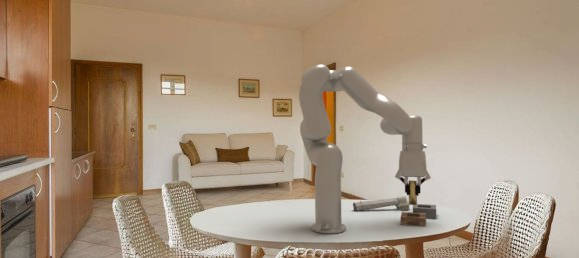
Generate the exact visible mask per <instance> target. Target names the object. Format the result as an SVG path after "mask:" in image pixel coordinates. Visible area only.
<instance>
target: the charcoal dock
mask: <svg viewBox="0 0 579 258" xmlns="http://www.w3.org/2000/svg"><path fill="white" fill-rule="evenodd" d="M436 206H437V205H436V204H428V203H427V204H425V203H424V204H422V203H417V205H412V212H413V213H426V220H437V207H436Z"/></svg>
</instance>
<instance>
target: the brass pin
mask: <svg viewBox="0 0 579 258" xmlns="http://www.w3.org/2000/svg"><path fill="white" fill-rule="evenodd" d="M417 183H418V181H417V180H410V179H409V180H408V184H409V195H408V202H409V204H410V205H411V206H413V205H417V204H418V196H417V190H416V185H417ZM410 205H409V206H410Z"/></svg>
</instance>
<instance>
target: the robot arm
mask: <svg viewBox="0 0 579 258" xmlns="http://www.w3.org/2000/svg"><path fill="white" fill-rule="evenodd" d="M300 82H301V84H300V86H299V87H300V88H299V91H298V101H299V106H300V110H301V115H302V118H303V119H302V121H301V122H300V125H299V132H300V136H301V140H302V143H303V147H304V149H305V152H306V155H307V157H308V160H309V162H310V163H312V165H314V166H315V172H314V173H315V174H314V209H315V211H314V212H315V213H314V215H315V217H314V218H315V221H314V222H315V223H313V224H311V225H310V227H311V228H310V229H311V230H312V231H313V232H316V233H319V234H339V233H343V232H345V231H346V229H347V226H346V224H343V223H342V168H343V151H342V150H341V149H340V148H339V146H338V145H336V144H334V143H332V142H328V139H327V138H328V137H329V136H330V135H331V132H332V125H331V122H330V119H329V115H328V113H327V111H326V110H327V109H326V106H325V103H324V97H323V96H324V95H323V94H324V92H328V93H329V92H334V93H335V92H342V91H344V92H345V93H346V94H347V95H348V96H349V97H350V98H351V99H352V100H353V101H354V102H355V103H356V104H357V105H358V107H360V108H361V109H364V110H365V111H367V112H371V113H374V114H376V115H378V116H380V117H381V118H382V120H381V121H380V125H379V126H380V130H381V131H382V132H383V133H385V134H386V135H391V136H392V135H393V136H394V135H401V146H402V147H401V150H400V151H399V157H398V170H397V172H396V173H395V175H394V177H395V179H397V180H400V181H401V182H402V183H403V184H404V193H405V194H406V196H409V178H416V179H417V180H416V181H417V185H416V190H417V197H419V194H421V186H422V184H423V183H424V182H426V181H429V180H430V179H431V175H430V173H429V172H428V170H427V168H428V167H427V158H426V152H425V151H424V149H427V144H424V143H423V118H422V117H421V115H409V114H408V113H407V112H406V111H405V109H403V108H402V107H401V106H400V105H399V104H398V103H397V102H396V101H394V100H392V99H391V98H389V97H387V96H385V95H384V94H383V93H380V92H379V91H378V90H377V89H376V88H374V86H373V85H372V84H370V83H369V81H368V80H366V78H364V77H363V76H362V74H361V73H360V72H359V71H358V70H356V68H354V67H352V66H350V65H349V66H347V65H346V66H343V67H341V68H338V69H332V70H331V69H330V68H329V66H327V65H325V64H322V63H318V64H314V65H313V66H311V67H309V68H308V69H306V70H305V71H304V72H303V73H302V75H301V79H300Z"/></svg>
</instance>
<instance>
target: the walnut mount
mask: <svg viewBox="0 0 579 258" xmlns="http://www.w3.org/2000/svg"><path fill="white" fill-rule="evenodd" d="M400 225H402V226H403V225H404V226H412V227H413V226H415V227H427V219H426V213H413V211H411V212H410V211H402V212H401V215H400Z"/></svg>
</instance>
